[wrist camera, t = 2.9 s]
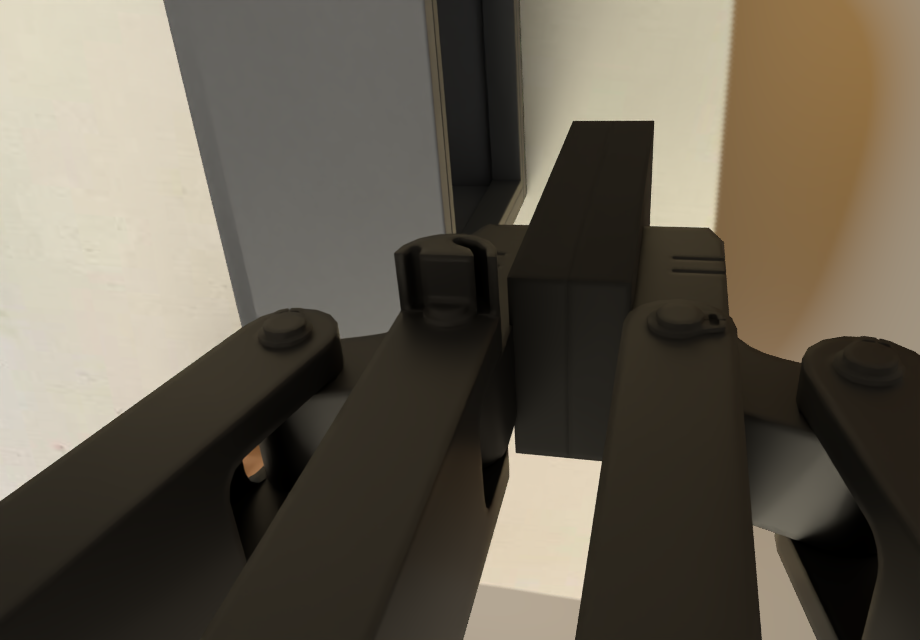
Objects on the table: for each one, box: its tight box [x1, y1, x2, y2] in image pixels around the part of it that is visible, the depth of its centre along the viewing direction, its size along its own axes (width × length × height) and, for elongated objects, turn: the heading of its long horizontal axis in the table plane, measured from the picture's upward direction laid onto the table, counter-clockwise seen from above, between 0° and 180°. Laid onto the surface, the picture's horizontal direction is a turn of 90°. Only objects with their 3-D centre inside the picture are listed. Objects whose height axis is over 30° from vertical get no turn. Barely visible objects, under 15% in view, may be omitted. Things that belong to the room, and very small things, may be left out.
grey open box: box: [163, 0, 526, 339], centre depth 27 cm, size 14×7×12 cm, turn 4°
